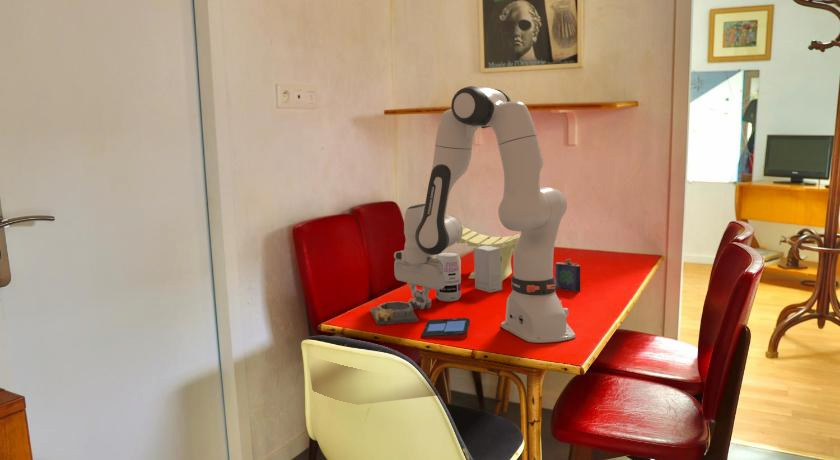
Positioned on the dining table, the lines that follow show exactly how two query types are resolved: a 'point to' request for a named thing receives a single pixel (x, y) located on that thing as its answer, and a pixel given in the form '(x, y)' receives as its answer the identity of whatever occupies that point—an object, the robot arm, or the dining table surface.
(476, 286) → the skincare box
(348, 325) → the dining table surface
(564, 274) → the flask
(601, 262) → the dining table surface
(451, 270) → the supplement can
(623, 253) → the dining table surface
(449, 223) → the robot arm
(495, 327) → the dining table surface
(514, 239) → the slatted curved stool
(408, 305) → the carrier board
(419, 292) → the planet gear
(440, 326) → the game console
